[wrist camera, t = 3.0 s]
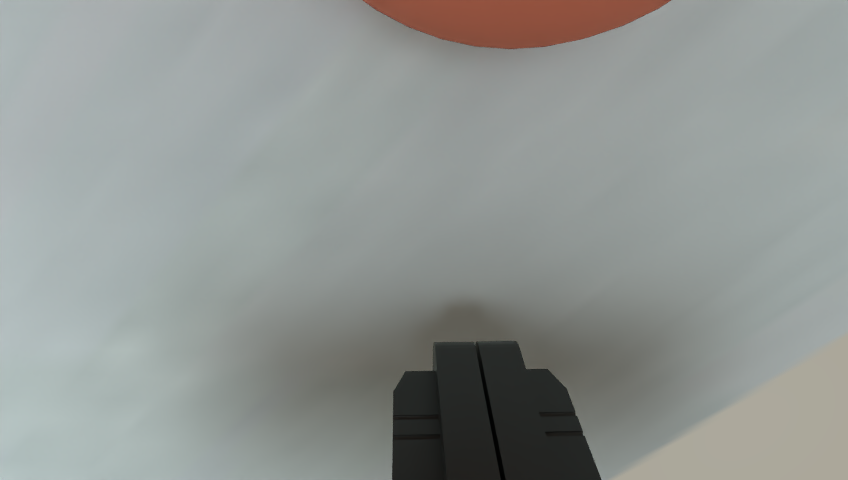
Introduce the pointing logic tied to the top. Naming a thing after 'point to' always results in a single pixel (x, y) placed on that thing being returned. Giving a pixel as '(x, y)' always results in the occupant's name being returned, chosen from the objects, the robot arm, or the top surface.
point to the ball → (514, 19)
